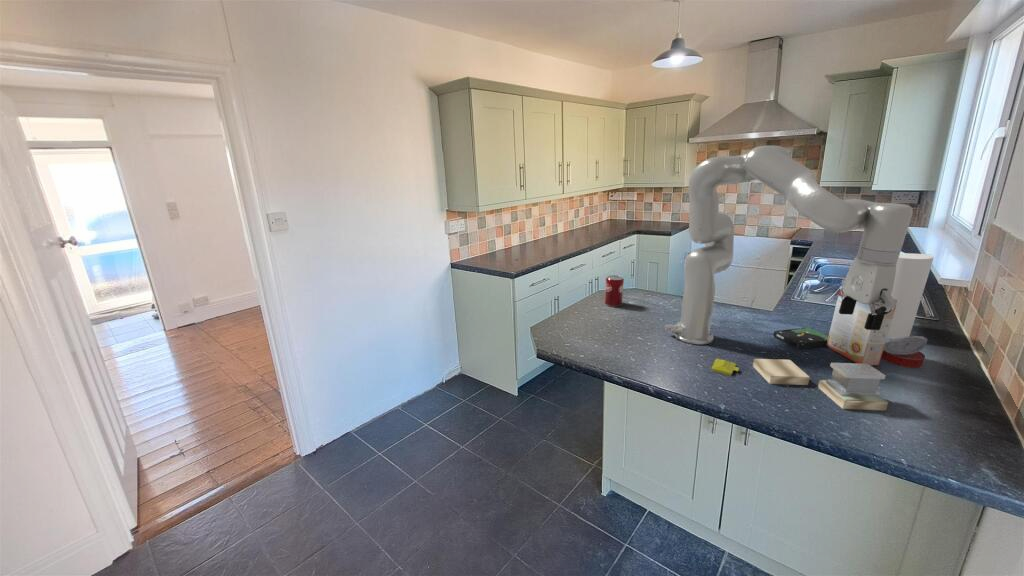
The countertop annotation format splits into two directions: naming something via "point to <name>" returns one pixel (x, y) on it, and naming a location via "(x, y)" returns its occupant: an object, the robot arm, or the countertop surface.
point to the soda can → (614, 291)
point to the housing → (855, 379)
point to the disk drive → (802, 337)
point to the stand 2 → (853, 399)
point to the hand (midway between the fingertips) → (858, 321)
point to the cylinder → (908, 291)
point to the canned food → (905, 351)
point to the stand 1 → (781, 372)
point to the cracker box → (858, 334)
